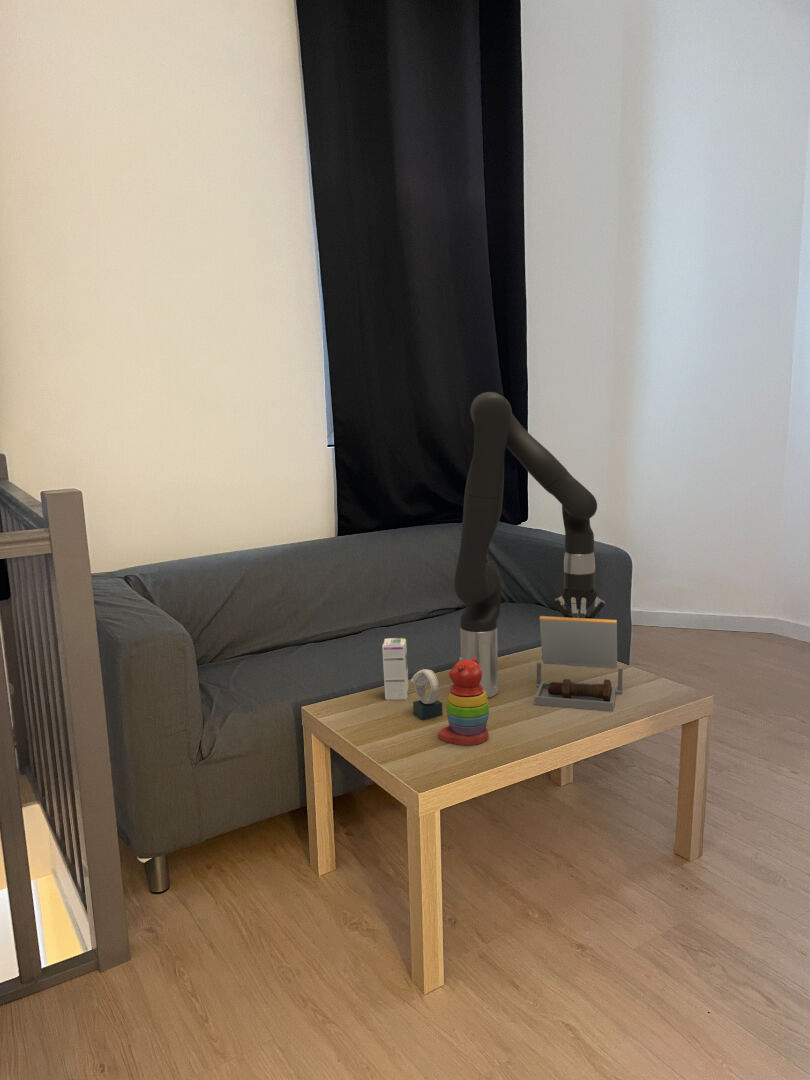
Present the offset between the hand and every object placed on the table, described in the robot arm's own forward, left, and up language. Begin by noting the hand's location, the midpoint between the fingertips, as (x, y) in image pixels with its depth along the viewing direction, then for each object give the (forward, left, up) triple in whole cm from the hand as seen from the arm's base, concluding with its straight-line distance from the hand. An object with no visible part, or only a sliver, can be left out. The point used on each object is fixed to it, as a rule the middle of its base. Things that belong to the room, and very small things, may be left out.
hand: (579, 636), depth 209 cm
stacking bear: (-21, -35, -14) cm, 43 cm away
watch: (-33, -25, -14) cm, 44 cm away
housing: (0, -6, -14) cm, 15 cm away
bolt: (+1, -8, -14) cm, 16 cm away
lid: (0, -2, -2) cm, 2 cm away
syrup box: (-44, -15, -14) cm, 49 cm away
